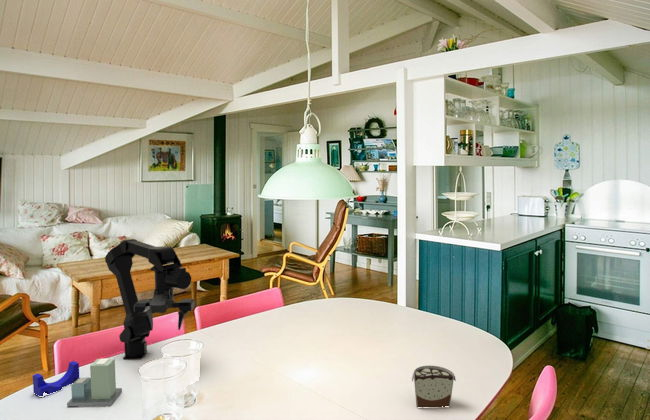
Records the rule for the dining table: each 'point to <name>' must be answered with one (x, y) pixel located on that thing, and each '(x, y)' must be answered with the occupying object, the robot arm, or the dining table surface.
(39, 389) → the blue curved cradle
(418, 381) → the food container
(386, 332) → the dining table surface
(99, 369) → the block
